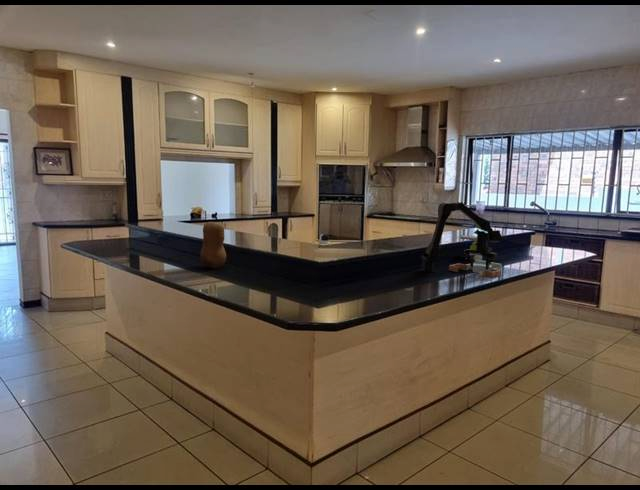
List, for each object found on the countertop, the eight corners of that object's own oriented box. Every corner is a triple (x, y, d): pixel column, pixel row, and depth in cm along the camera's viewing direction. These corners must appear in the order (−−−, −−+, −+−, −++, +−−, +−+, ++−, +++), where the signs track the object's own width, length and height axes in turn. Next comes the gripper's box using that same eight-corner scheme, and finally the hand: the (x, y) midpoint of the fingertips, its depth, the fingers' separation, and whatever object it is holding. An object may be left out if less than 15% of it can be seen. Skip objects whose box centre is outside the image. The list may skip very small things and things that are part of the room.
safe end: (499, 272, 263) (500, 264, 262) (474, 267, 275) (475, 259, 274) (500, 272, 263) (501, 264, 262) (475, 267, 275) (476, 259, 275)
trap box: (487, 278, 246) (488, 273, 245) (448, 270, 264) (449, 265, 263) (507, 273, 260) (508, 268, 260) (469, 266, 278) (469, 261, 278)
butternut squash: (229, 266, 252) (229, 221, 247) (221, 271, 238) (222, 224, 234) (205, 264, 253) (205, 220, 249) (196, 269, 240) (196, 222, 236)
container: (330, 253, 302) (330, 234, 300) (329, 255, 295) (330, 235, 293) (318, 252, 303) (319, 233, 301) (317, 254, 296) (318, 235, 293)
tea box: (458, 258, 304) (460, 236, 301) (458, 255, 313) (460, 234, 311) (482, 260, 299) (484, 238, 297) (481, 257, 309) (483, 236, 306)
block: (490, 274, 259) (491, 267, 258) (472, 272, 263) (473, 265, 262) (490, 272, 265) (491, 265, 264) (472, 270, 268) (473, 263, 267)
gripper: (504, 243, 258) (501, 269, 261) (474, 238, 272) (472, 264, 274) (494, 244, 251) (491, 272, 253) (464, 239, 264) (462, 266, 267)
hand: (479, 268), depth 262 cm, fingers open, 9 cm apart
